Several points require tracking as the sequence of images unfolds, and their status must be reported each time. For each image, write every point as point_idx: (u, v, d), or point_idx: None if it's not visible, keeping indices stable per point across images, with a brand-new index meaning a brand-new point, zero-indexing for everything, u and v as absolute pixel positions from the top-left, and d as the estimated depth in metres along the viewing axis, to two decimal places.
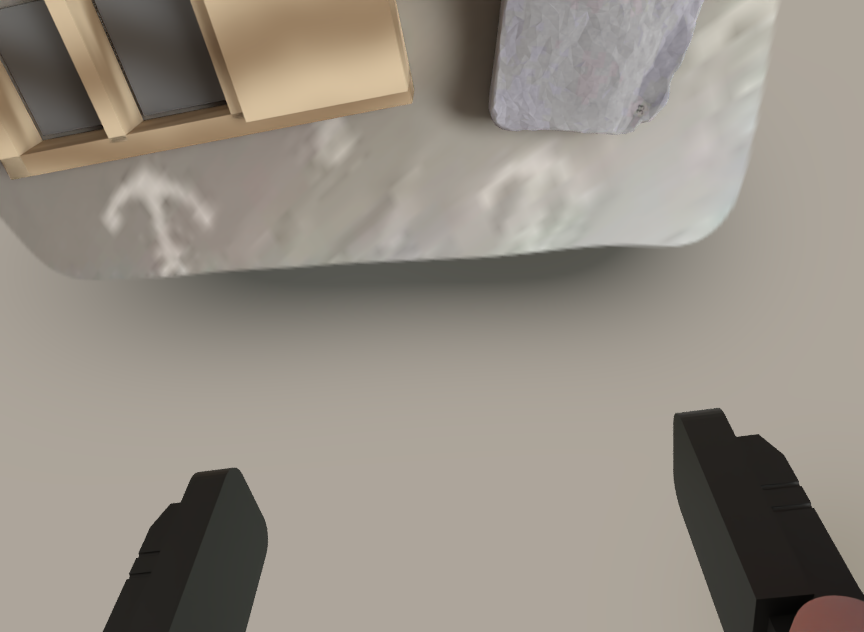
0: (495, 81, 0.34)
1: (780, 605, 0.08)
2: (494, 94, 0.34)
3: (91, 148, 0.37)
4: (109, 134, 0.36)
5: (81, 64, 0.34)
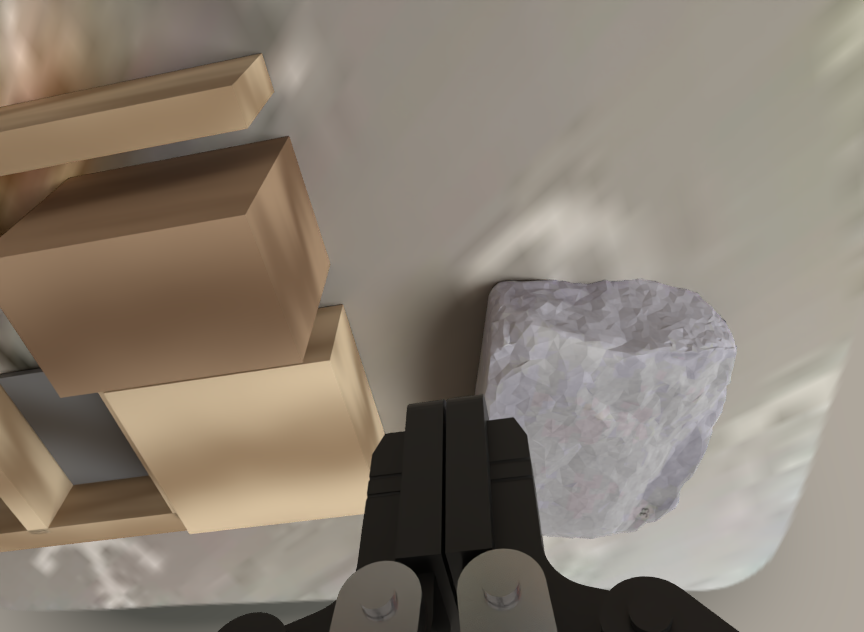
0: None
1: (468, 558, 0.10)
2: None
3: (8, 538, 0.31)
4: (28, 527, 0.30)
5: None
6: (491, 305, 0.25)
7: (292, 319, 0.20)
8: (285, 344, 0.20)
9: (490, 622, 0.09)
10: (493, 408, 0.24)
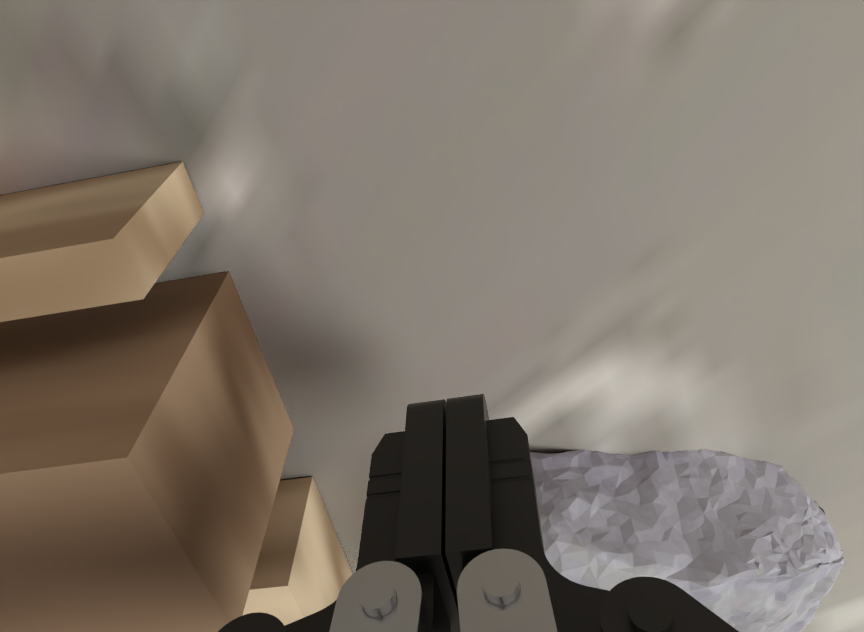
0: None
1: (468, 558, 0.10)
2: None
3: None
4: None
5: None
6: None
7: (220, 575, 0.13)
8: (208, 615, 0.13)
9: (490, 622, 0.09)
10: None
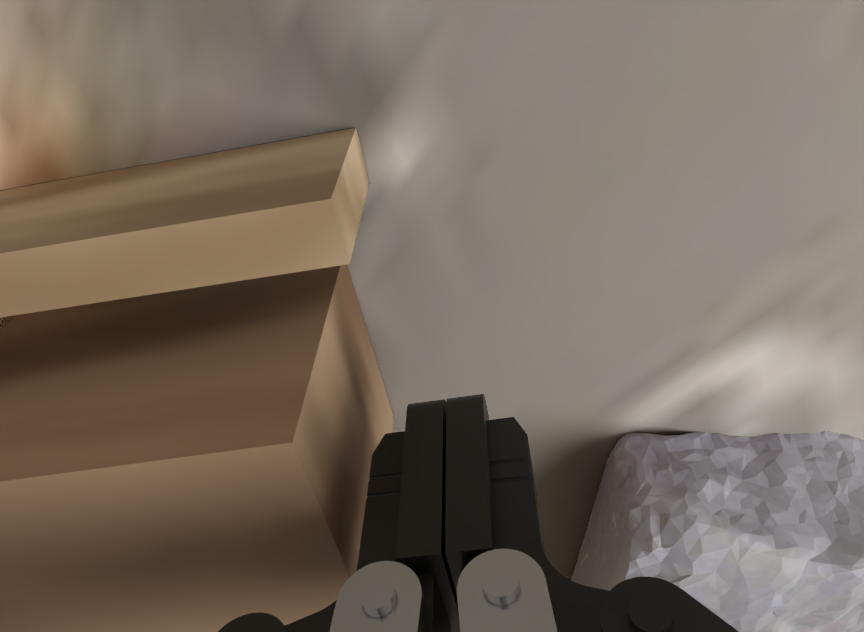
0: None
1: (468, 558, 0.10)
2: None
3: None
4: None
5: None
6: (621, 473, 0.17)
7: None
8: None
9: (490, 622, 0.09)
10: None
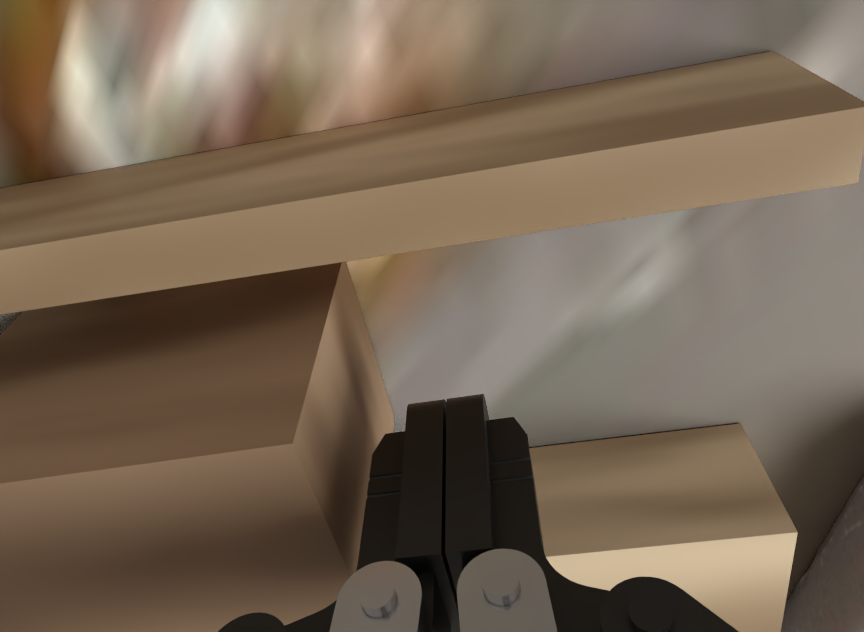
0: None
1: (468, 558, 0.10)
2: None
3: None
4: None
5: None
6: None
7: None
8: None
9: (490, 622, 0.09)
10: None
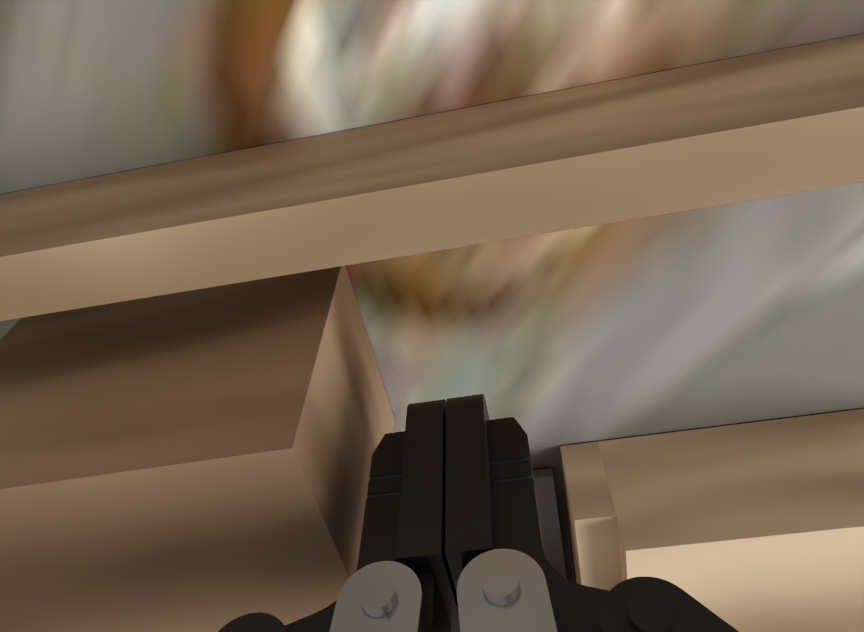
0: None
1: (468, 558, 0.10)
2: None
3: None
4: None
5: None
6: None
7: None
8: None
9: (490, 622, 0.09)
10: None
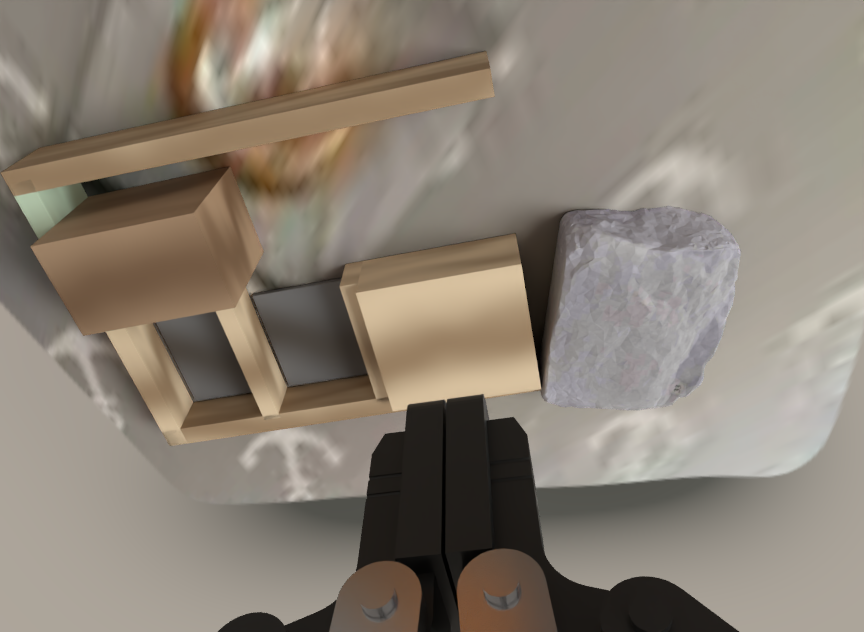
0: (546, 374, 0.38)
1: (468, 558, 0.10)
2: (545, 385, 0.38)
3: (246, 423, 0.41)
4: (263, 413, 0.40)
5: (246, 364, 0.38)
6: (563, 226, 0.35)
7: (228, 280, 0.32)
8: (223, 295, 0.32)
9: (490, 622, 0.09)
10: (568, 298, 0.34)
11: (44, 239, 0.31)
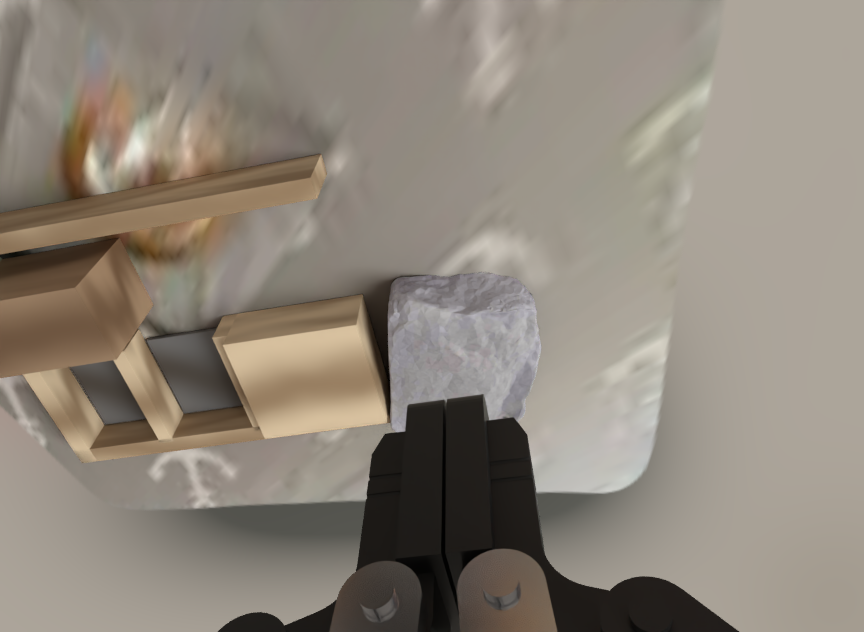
0: (390, 410, 0.45)
1: (468, 558, 0.10)
2: (391, 419, 0.45)
3: (145, 445, 0.48)
4: (159, 437, 0.48)
5: (140, 398, 0.46)
6: None
7: (110, 337, 0.39)
8: (106, 350, 0.39)
9: (490, 622, 0.09)
10: (393, 351, 0.42)
11: None
